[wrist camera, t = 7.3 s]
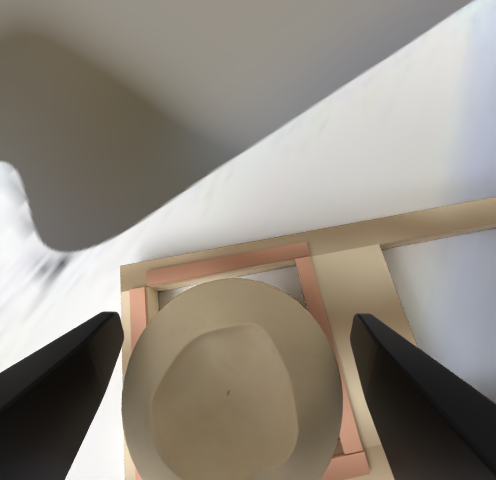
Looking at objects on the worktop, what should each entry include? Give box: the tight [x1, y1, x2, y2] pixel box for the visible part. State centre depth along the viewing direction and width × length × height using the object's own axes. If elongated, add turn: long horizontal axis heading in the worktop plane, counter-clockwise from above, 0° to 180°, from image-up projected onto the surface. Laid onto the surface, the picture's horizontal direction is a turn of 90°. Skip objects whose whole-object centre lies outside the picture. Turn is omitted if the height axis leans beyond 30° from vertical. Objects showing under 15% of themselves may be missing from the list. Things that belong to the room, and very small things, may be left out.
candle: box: [122, 278, 343, 480], centre depth 10 cm, size 6×6×10 cm
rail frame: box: [120, 197, 496, 480], centre depth 14 cm, size 12×25×2 cm, turn 101°
